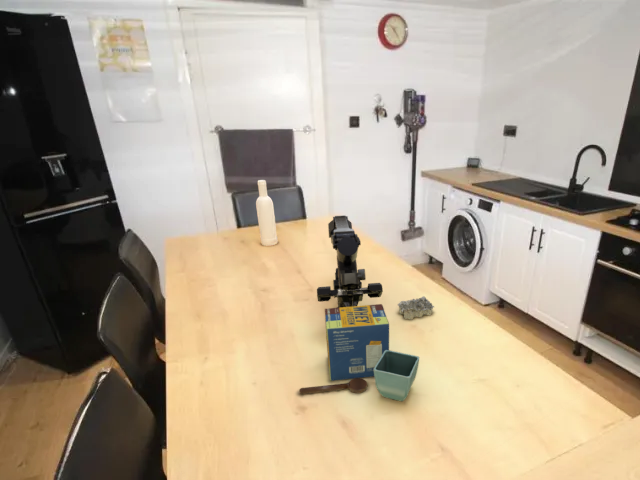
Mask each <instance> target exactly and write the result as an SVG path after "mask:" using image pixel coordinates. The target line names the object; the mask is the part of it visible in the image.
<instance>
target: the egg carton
mask: <svg viewBox="0 0 640 480" xmlns="http://www.w3.org/2000/svg"><path fill="white" fill-rule="evenodd" d="M397 306H398V312H399V315H403V318H404V320H413V319H414V318H416V317H417V318H422V317H423V316H424V315H426V316H431V315H432V313H433V309H434V308H435V305H433V303H432V302H431V301H429V299H428V298H427V297H426V296H421V297H419V298H412V299H408V300H401V301H399V302H398V304H397Z"/></svg>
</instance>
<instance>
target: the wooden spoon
mask: <svg viewBox="0 0 640 480" xmlns="http://www.w3.org/2000/svg"><path fill="white" fill-rule="evenodd" d="M367 389H368V382H367V380H366V379H364V378H363V377H362V378H353V379H350V381H348V382H345V383H335V384H326V385H325V384H324V385H316V386H307V387H301V388H299V389H298V393H299V394H301V395H305V394H313V393H323V392H332V391H340V390H349V392H351V393H353V394H361V393H364V392H365V391H367Z"/></svg>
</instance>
